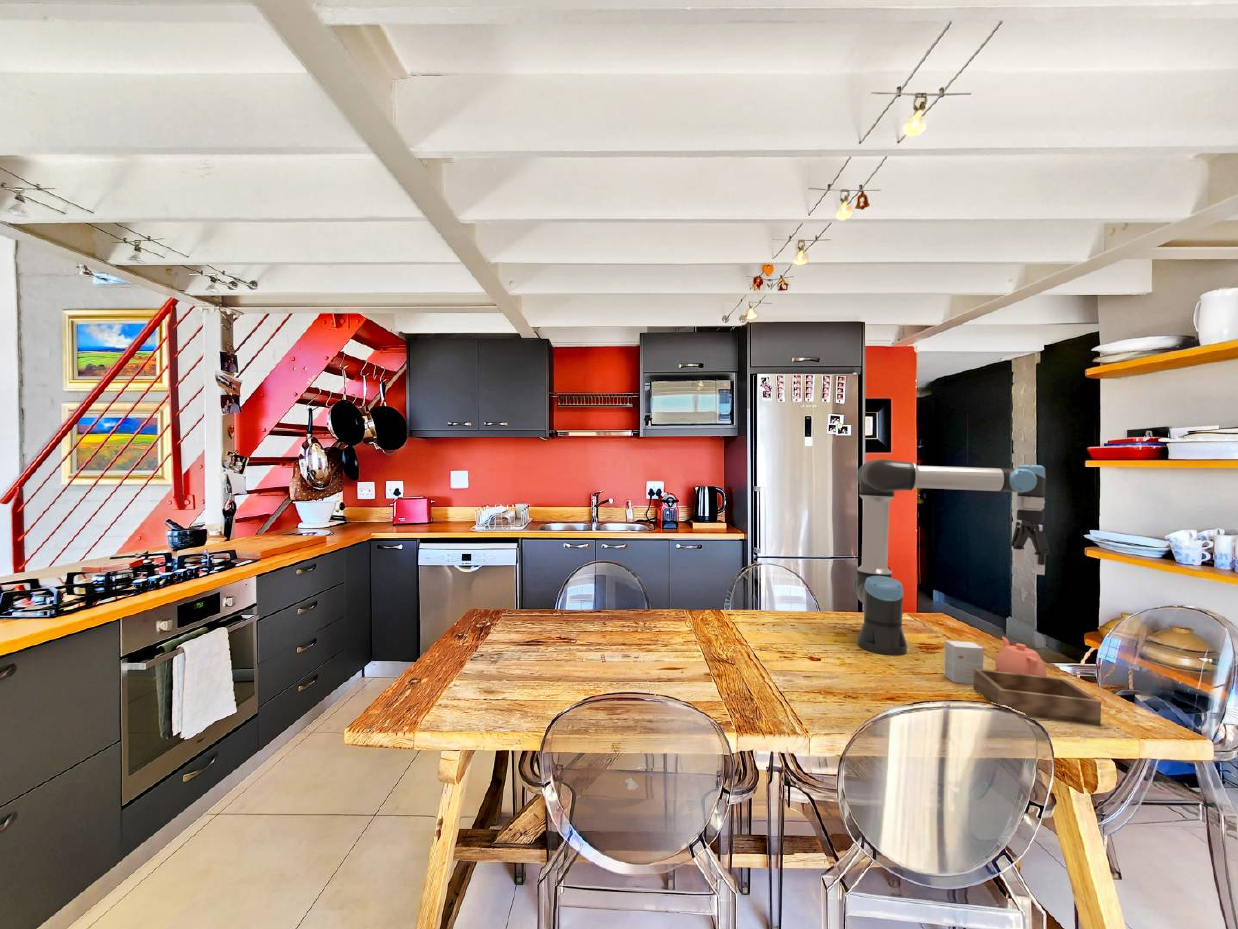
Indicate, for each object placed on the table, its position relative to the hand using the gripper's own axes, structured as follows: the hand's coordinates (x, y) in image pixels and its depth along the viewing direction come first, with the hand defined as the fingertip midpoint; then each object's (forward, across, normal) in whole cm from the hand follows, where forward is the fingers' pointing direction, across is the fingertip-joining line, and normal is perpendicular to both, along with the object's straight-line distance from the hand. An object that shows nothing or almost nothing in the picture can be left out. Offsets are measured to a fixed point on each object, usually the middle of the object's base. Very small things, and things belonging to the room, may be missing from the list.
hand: (1028, 571), depth 183 cm
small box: (+28, -37, +33) cm, 57 cm away
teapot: (+28, -26, +14) cm, 41 cm away
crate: (+28, -51, +22) cm, 62 cm away
